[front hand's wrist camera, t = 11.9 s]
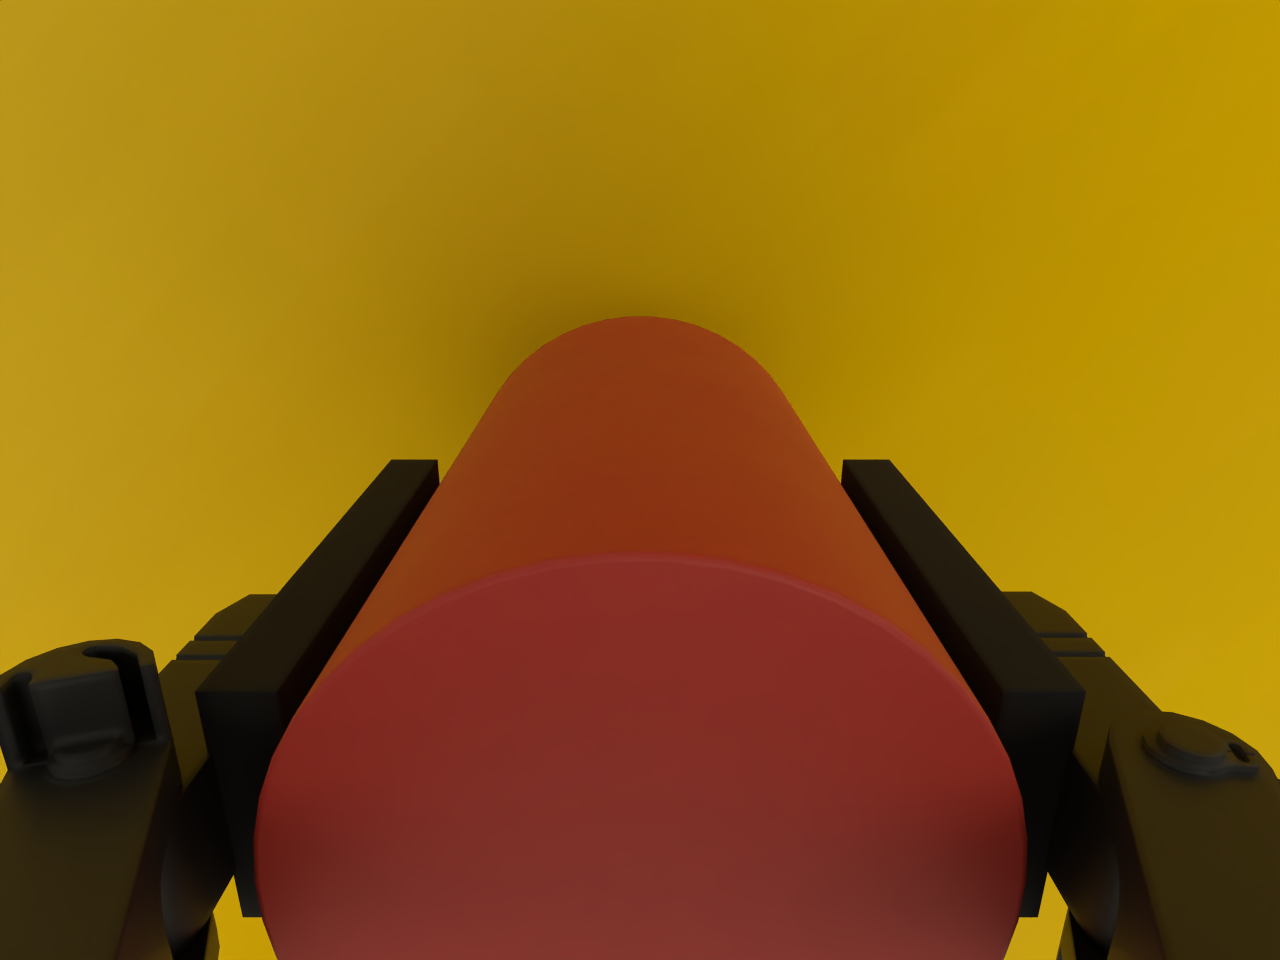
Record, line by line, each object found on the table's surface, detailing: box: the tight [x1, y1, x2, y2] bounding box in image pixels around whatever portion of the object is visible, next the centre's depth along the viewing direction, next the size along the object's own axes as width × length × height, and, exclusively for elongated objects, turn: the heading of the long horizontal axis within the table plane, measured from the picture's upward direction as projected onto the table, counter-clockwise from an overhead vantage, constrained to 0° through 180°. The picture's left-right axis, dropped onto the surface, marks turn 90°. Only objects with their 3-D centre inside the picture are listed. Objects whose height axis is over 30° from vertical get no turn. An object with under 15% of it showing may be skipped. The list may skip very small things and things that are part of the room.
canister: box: [254, 317, 1027, 960], centre depth 12 cm, size 7×7×10 cm
